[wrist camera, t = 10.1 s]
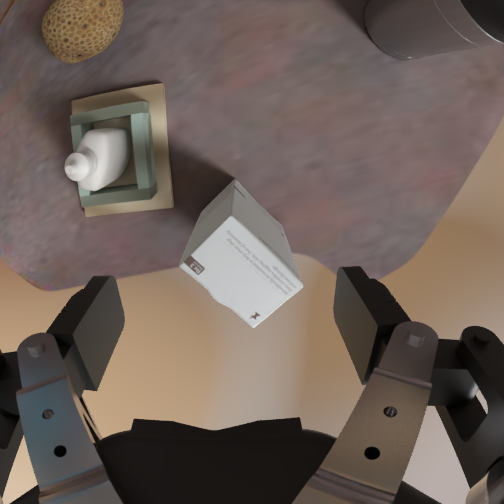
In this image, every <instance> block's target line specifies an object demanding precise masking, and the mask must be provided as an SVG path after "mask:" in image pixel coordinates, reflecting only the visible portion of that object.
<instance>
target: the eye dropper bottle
mask: <svg viewBox="0 0 504 504" xmlns="http://www.w3.org/2000/svg"><path fill="white" fill-rule="evenodd" d="M131 149H132V142H131V135H130V132H129V130H128V129H126V128H120V127H110V128H101V129H95V130H90V131H88V132H87V133H86V134H85V135H84V137H83V138H82V140H81V142H80V144H79V146H78V149H77V152H74V153H72V154H70V155H69V156H68V157H67V159H66V161H65V173H66V174H67V176H68V177H69V178H70V179H71V180H74V181H77V182H78V185H79V186H80V188H82V189H85V190H90V191H97V190H99V189H101V188H103V187H105V186H106V185H108V184H110V183H111V182H113V181H115V180H116V179H118V178H120V177H121V176H122V175H123V173H124V172H125V170H126V168H127V166H128V163H129V160H130V156H131Z"/></svg>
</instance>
